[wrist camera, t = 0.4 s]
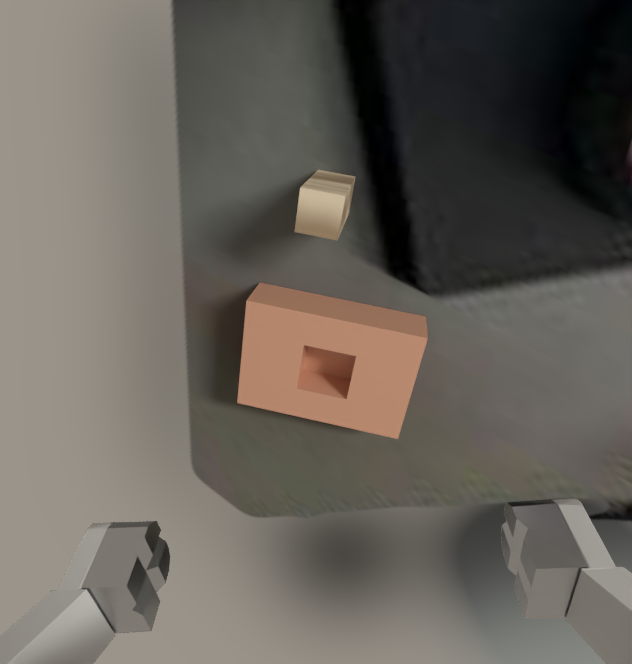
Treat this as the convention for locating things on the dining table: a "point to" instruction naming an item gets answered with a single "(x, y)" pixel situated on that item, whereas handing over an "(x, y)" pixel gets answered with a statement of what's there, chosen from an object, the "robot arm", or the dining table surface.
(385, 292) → the dining table surface
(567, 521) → the robot arm
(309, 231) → the peg
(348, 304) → the socket
